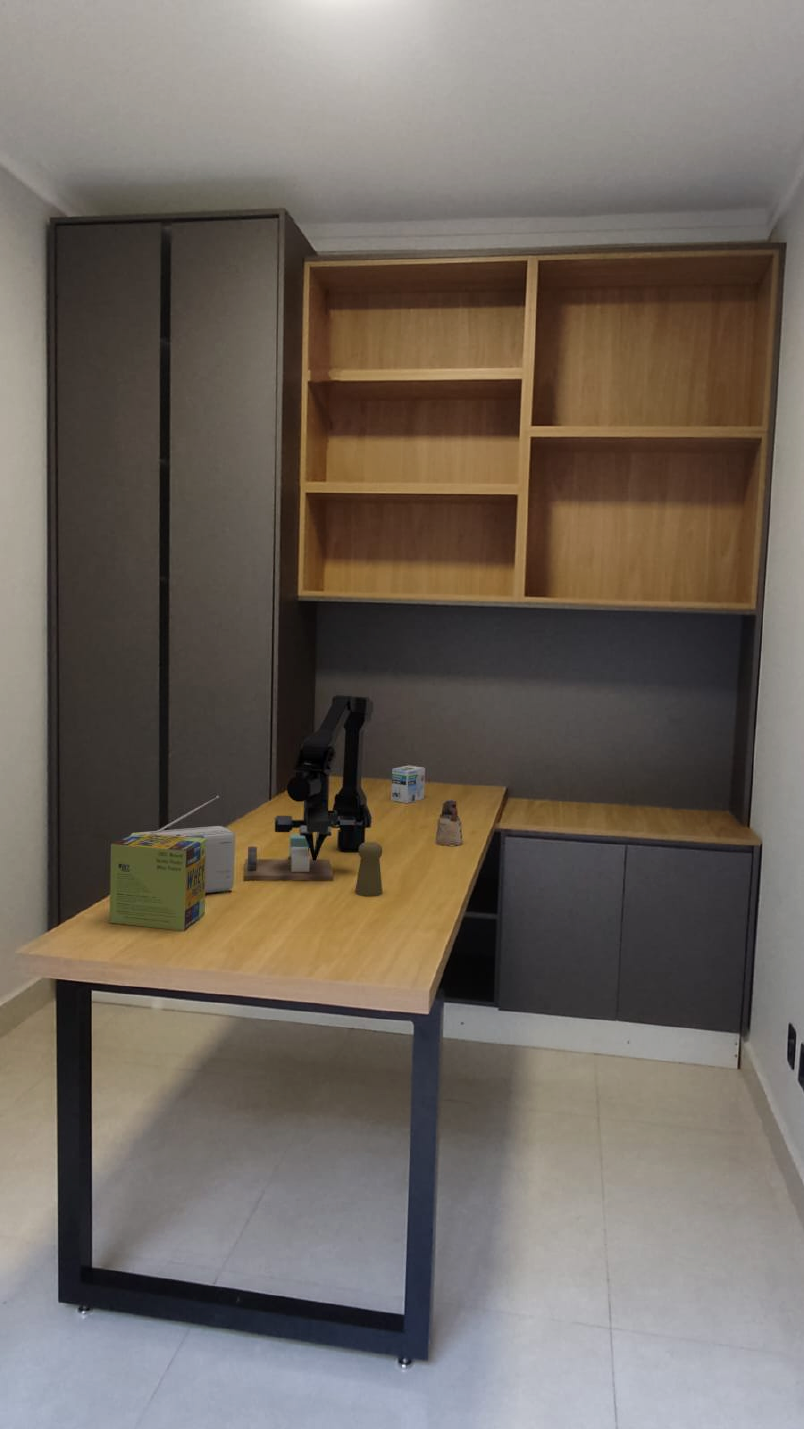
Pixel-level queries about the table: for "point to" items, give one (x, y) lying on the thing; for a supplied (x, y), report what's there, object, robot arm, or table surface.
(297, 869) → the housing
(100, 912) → the table surface
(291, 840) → the block
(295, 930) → the table surface
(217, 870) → the stereo radio cassette player
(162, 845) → the protein box
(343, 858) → the table surface
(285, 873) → the board
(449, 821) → the figurine
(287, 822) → the robot arm
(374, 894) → the olive pepper mill
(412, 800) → the light bulb box
